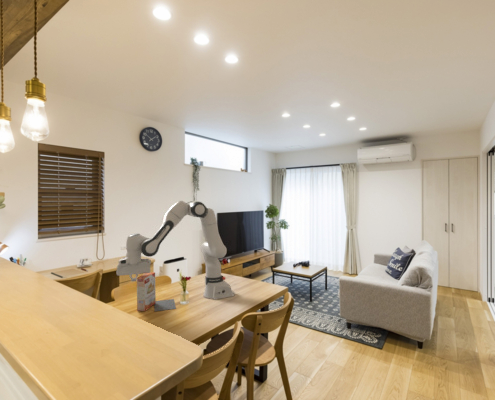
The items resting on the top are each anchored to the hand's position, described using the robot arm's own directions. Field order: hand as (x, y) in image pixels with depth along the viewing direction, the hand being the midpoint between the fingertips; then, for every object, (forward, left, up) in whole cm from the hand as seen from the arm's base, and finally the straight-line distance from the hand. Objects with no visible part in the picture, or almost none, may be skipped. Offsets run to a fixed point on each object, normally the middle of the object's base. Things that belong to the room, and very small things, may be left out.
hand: (133, 281), depth 179 cm
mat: (-19, 0, -18) cm, 26 cm away
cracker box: (-8, 0, -18) cm, 20 cm away
